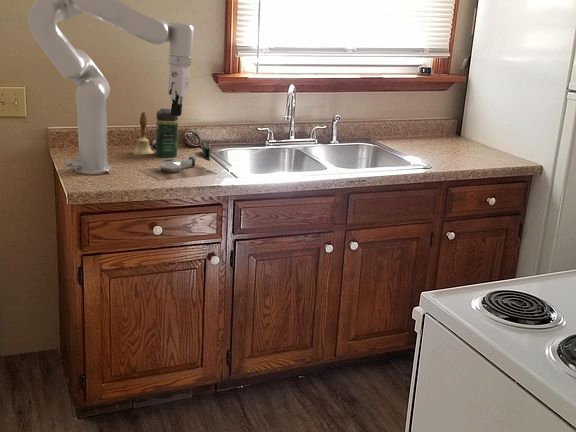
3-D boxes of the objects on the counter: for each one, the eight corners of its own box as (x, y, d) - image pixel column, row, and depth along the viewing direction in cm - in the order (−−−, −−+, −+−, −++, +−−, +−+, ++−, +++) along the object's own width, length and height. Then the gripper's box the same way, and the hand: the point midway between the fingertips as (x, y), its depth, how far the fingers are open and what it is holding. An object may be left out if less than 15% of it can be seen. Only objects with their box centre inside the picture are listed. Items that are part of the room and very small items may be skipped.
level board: (158, 184, 232) (158, 180, 231) (138, 173, 243) (138, 169, 242) (217, 177, 245) (218, 173, 245) (196, 167, 256) (196, 163, 256)
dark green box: (201, 140, 279) (204, 148, 265) (209, 140, 279) (212, 148, 265) (201, 152, 280) (204, 161, 266) (208, 153, 281) (211, 161, 267)
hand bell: (140, 149, 276) (140, 109, 271) (157, 153, 273) (158, 112, 268) (127, 153, 269) (127, 112, 264) (145, 156, 266) (145, 115, 261)
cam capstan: (169, 173, 239) (169, 164, 238) (156, 169, 243) (156, 160, 242) (200, 167, 250) (201, 158, 249) (187, 163, 254) (187, 154, 253)
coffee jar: (178, 160, 263) (179, 112, 258) (157, 160, 261) (157, 111, 255) (175, 154, 272) (176, 107, 266) (155, 154, 270) (155, 106, 264)
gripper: (184, 64, 226) (180, 120, 232) (196, 60, 240) (192, 113, 246) (161, 61, 227) (158, 117, 233) (176, 58, 241) (172, 110, 247)
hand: (176, 115), depth 239 cm, fingers closed
